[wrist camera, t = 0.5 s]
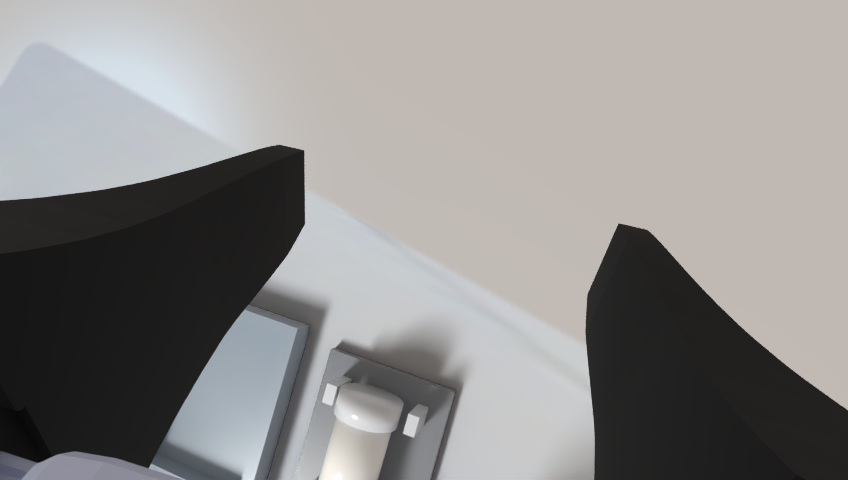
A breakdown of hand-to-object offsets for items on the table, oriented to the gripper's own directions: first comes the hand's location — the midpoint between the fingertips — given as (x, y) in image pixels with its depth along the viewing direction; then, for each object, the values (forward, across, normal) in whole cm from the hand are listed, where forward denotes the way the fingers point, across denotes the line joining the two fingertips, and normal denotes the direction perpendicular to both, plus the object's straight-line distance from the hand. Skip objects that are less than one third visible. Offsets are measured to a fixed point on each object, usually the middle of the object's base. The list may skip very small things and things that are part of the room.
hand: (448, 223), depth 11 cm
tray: (+13, +16, +30) cm, 36 cm away
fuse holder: (+11, +4, +29) cm, 31 cm away
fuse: (+11, +4, +29) cm, 31 cm away
